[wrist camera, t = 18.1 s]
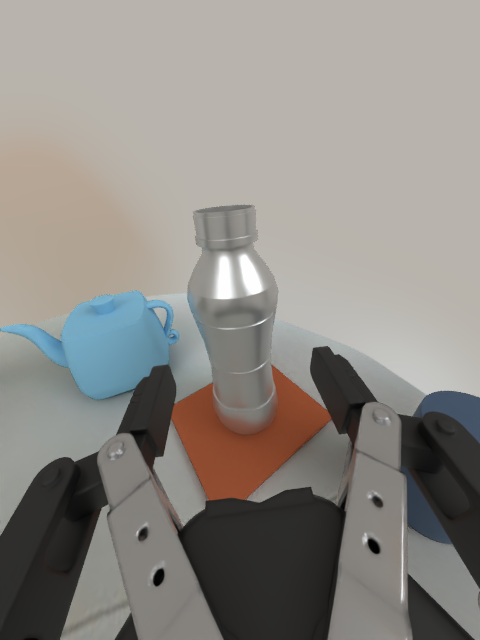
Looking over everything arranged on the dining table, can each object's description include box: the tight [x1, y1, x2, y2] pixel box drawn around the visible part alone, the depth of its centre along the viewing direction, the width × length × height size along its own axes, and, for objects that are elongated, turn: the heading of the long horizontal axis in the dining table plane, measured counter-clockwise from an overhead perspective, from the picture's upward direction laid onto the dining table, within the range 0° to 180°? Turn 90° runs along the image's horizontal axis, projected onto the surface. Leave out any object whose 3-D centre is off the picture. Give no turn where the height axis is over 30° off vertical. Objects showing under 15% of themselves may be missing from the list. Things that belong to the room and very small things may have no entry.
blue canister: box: [401, 391, 480, 544], centre depth 14 cm, size 6×6×9 cm
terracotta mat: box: [171, 365, 332, 501], centre depth 23 cm, size 14×12×1 cm
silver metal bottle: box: [187, 205, 278, 435], centre depth 18 cm, size 6×7×20 cm
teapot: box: [0, 291, 179, 400], centre depth 28 cm, size 12×18×12 cm
